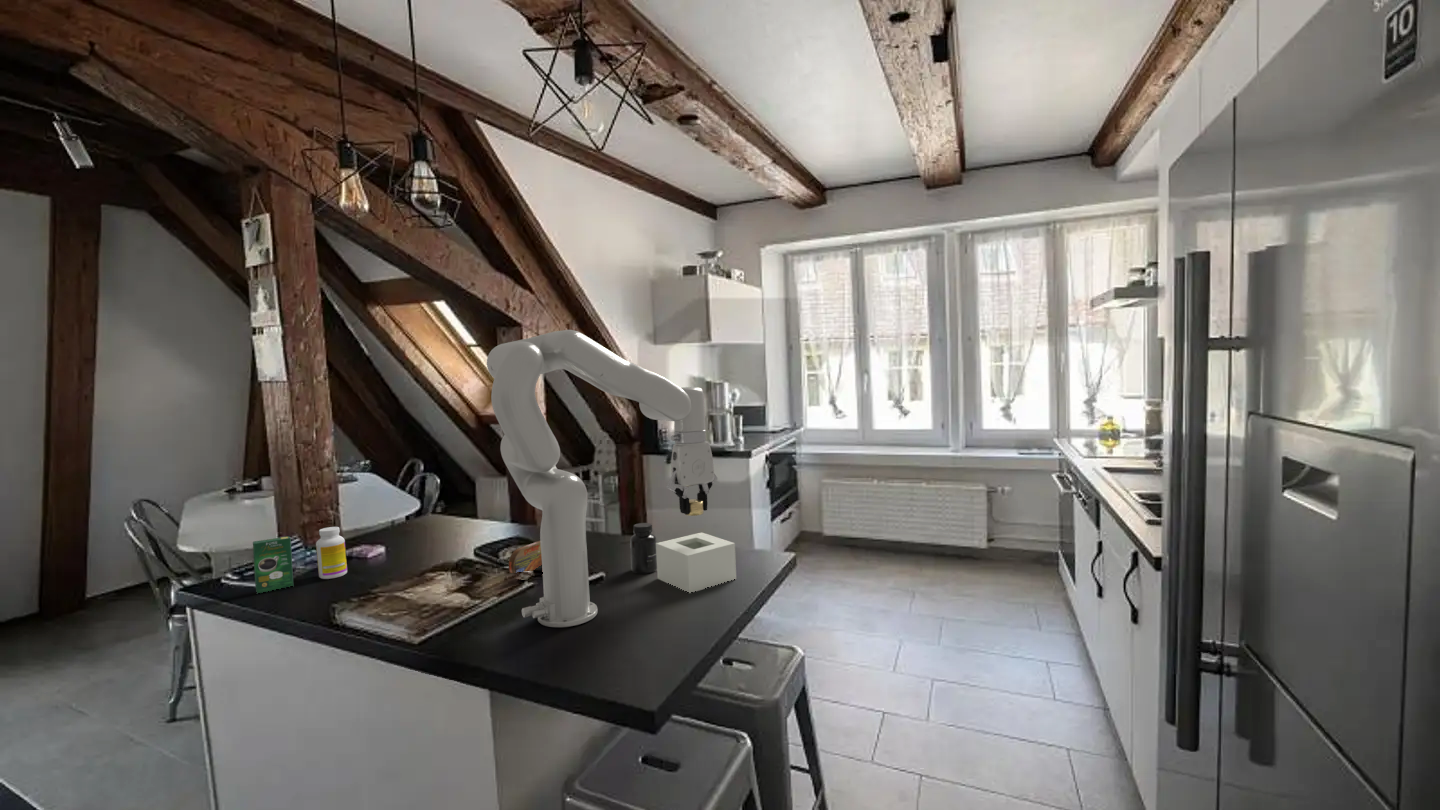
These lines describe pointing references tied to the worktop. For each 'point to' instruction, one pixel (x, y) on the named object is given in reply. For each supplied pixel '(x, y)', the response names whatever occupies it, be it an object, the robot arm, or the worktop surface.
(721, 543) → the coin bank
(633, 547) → the supplement bottle
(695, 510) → the gold short cylinder
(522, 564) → the tin
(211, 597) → the worktop surface
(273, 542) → the coffee box
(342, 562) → the supplement bottle
